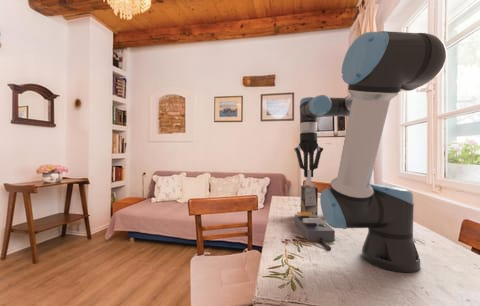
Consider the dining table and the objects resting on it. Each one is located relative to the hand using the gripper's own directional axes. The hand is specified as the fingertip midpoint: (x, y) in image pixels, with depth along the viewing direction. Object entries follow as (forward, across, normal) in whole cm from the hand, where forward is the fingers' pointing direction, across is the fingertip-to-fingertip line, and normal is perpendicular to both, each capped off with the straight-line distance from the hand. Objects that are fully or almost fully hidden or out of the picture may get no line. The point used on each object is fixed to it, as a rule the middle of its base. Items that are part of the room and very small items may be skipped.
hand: (308, 184), depth 104 cm
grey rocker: (+13, +3, +12) cm, 18 cm away
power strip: (+19, +1, +11) cm, 22 cm away
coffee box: (+19, -4, -12) cm, 23 cm away
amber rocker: (+13, +2, +2) cm, 13 cm away
